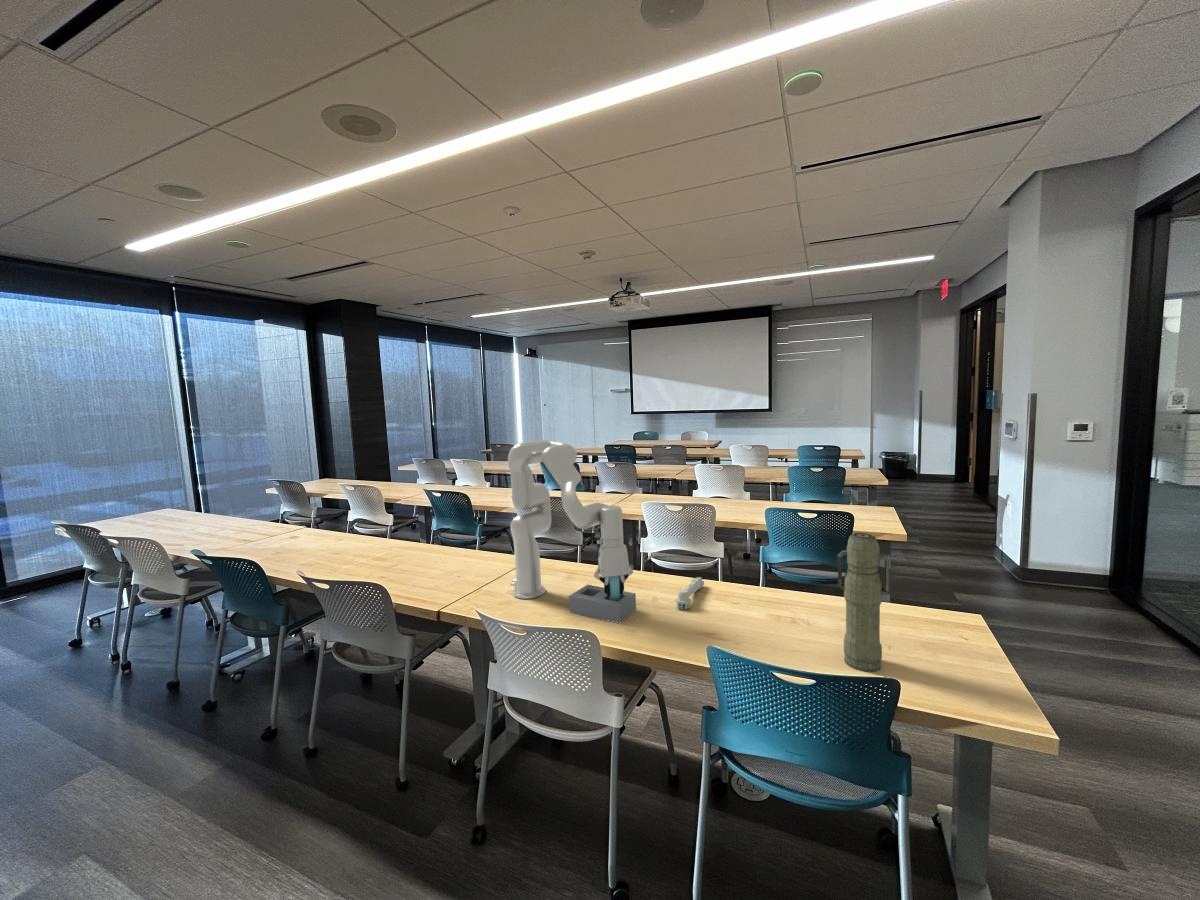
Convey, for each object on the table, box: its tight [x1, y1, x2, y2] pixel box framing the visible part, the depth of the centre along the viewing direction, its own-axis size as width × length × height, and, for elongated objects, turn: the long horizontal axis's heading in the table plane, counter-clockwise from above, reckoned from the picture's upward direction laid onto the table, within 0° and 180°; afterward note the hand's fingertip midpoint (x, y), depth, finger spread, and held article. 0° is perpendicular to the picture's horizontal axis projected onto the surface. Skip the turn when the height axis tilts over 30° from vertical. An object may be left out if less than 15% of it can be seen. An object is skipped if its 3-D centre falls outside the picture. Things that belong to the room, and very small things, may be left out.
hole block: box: [568, 584, 637, 624], centre depth 169 cm, size 20×12×6 cm, turn 59°
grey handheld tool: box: [675, 576, 705, 610], centre depth 178 cm, size 5×7×25 cm
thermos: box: [836, 532, 890, 673], centre depth 128 cm, size 9×12×35 cm
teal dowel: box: [608, 576, 620, 601], centre depth 166 cm, size 4×4×12 cm
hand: (614, 593), depth 166 cm, fingers closed on teal dowel, 4 cm apart
